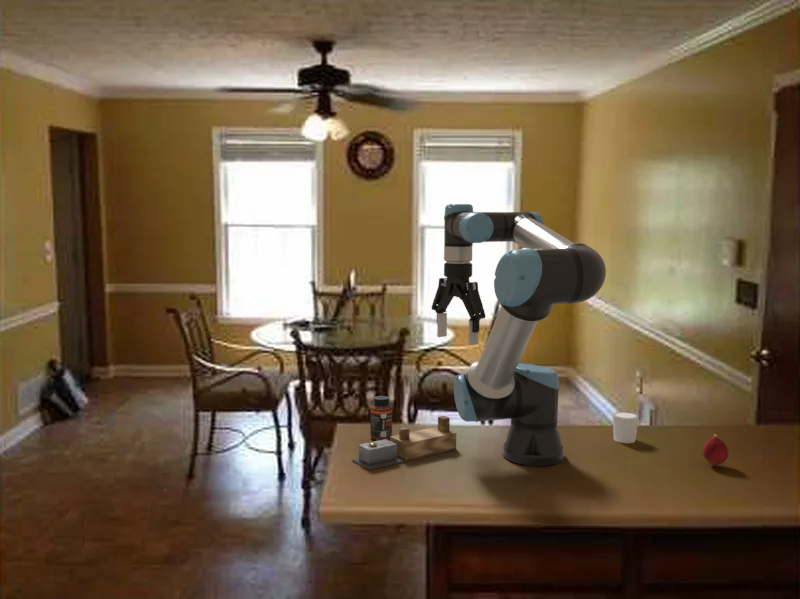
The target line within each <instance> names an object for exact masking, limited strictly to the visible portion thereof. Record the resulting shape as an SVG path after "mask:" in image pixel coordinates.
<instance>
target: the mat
mask: <svg viewBox="0 0 800 599" xmlns="http://www.w3.org/2000/svg"><path fill="white" fill-rule="evenodd" d="M351 461H352V462H353V463H356V464H358V466H361V467H362V466H363V468H364V469H365V470H368V471H372V470H375V469H374V468H377V469H380V468H379V467H381V468H384V467H383V466H385V467H389V466H388V465H390V466H393V465H392V464H394V465H398V464H397V463H399V464H402V463H401V462H403V463H404V460H403V459H401V458H399V457H397V460H394V461H390V462H385V463H381V464H376V465H372V466H369V465H367V464H365V463H363V462H361V461H359V457H356V458H351ZM371 469H372V470H371Z"/></svg>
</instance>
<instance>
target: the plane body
mask: <svg viewBox="0 0 800 599" xmlns="http://www.w3.org/2000/svg"><path fill="white" fill-rule="evenodd" d="M450 420H451V419H450V417H449V416H446V415H441V416H438V417H437V426H435V427H429V428H425V429H424V428H423V429H419V430H414V431H410V427H407V426H406V427H405V426H404V427H400V428H399V429H398V432H399V434H396V435H395V434H394V435H392V436H390V439H389V441H391V442H393V443H395V444H397V458H399V459H401V460H403V461H404V462H407V461H406V460H408V461H412V460H416V459H415V458H417V459H421V458H425V457H430V456H434V455H437V453H439V454H442V453H441V452H443V453H447V452H451V451H450V450H452V451H455V449H456V450H457V432H456V431H453V430H450V423H451V422H450ZM446 451H447V452H446ZM433 454H434V455H433ZM429 455H430V456H429ZM424 456H425V457H424ZM420 457H421V458H420ZM411 459H412V460H411Z"/></svg>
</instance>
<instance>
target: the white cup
mask: <svg viewBox="0 0 800 599" xmlns="http://www.w3.org/2000/svg"><path fill="white" fill-rule="evenodd" d="M611 416H612V430H613V440H614V441H615V442H616V443H620V444H621V443H622V444H633V443H635V442H636V439H637V431H638V424H639V415H638V414H637V413H634V412H633V413H632V412H627V411H617V412H613V413H612V415H611Z"/></svg>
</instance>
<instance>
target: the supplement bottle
mask: <svg viewBox="0 0 800 599" xmlns="http://www.w3.org/2000/svg"><path fill="white" fill-rule="evenodd" d="M389 399H390V397H388V396H385V395H378V396H374V398H373V404H371V406H370V420H369V421H370V428H369V430H370V432H369V433H370V436H369V437H370V438H371V439H372V440H374V441H379V440H384V439H387V440H390V436H393V407H392V405H391V404H390V403H389V402H390V400H389Z"/></svg>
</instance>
